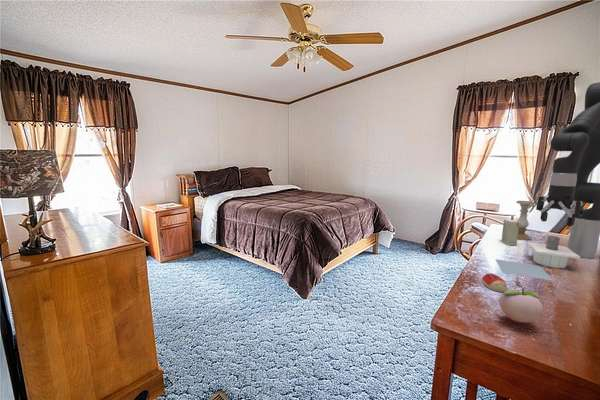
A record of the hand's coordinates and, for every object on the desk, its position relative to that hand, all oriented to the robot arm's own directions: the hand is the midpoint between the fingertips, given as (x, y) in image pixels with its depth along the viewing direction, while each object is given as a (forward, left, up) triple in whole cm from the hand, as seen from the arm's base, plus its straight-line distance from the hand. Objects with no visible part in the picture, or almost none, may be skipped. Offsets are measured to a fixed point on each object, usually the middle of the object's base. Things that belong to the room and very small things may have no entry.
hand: (556, 223), depth 110 cm
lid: (0, 0, -12) cm, 12 cm away
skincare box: (-25, -9, -18) cm, 32 cm away
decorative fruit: (+56, -22, -18) cm, 63 cm away
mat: (+13, -12, -18) cm, 25 cm away
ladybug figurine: (+34, -24, -18) cm, 45 cm away
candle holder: (-40, -1, -18) cm, 44 cm away
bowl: (0, 0, -18) cm, 18 cm away
